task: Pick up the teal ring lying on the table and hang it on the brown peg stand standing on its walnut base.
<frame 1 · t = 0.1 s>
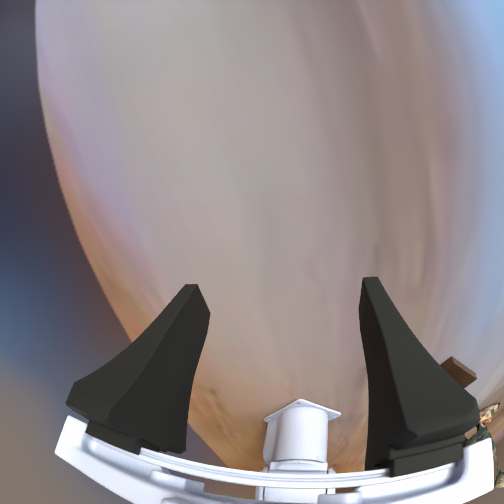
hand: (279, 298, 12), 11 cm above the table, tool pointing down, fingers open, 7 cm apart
brown peg stand: (440, 383, 29), on the table
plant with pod: (477, 414, 34), on the table
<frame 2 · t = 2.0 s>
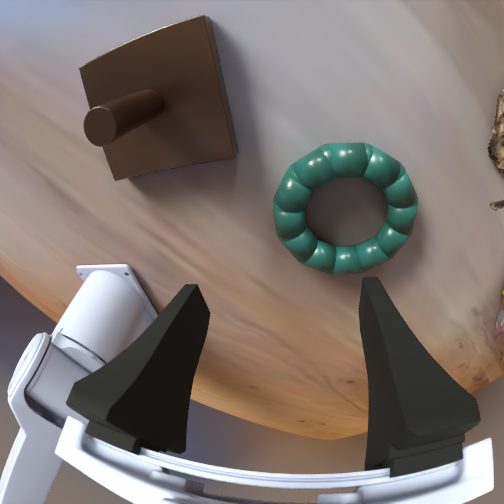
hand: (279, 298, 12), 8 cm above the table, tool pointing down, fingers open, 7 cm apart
brown peg stand: (156, 101, 15), on the table
ring: (347, 215, 17), point 1 cm above the table
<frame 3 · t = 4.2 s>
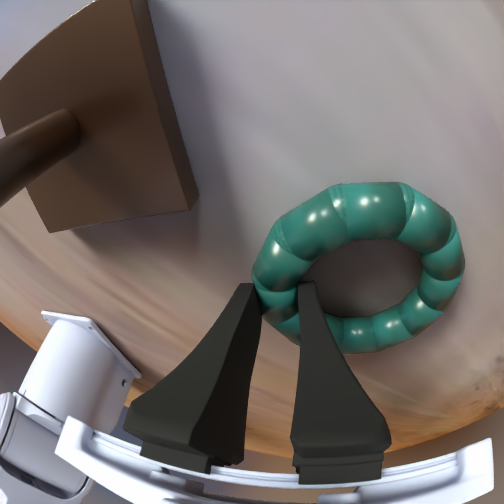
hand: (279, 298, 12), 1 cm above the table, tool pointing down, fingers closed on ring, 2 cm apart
brown peg stand: (81, 123, 9), on the table
ring: (364, 286, 11), point 1 cm above the table, touching gripper
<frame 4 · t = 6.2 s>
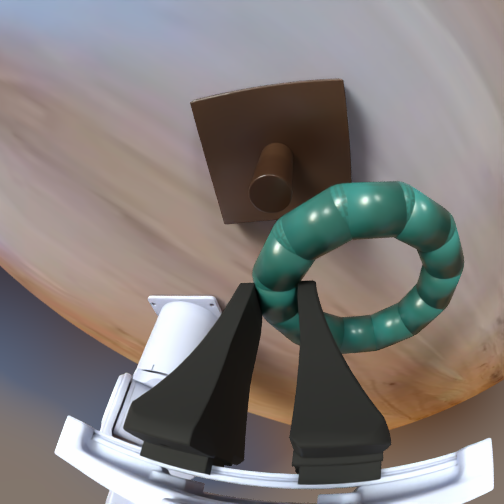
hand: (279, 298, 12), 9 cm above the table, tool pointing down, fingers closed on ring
brown peg stand: (278, 151, 17), on the table
ring: (364, 285, 11), point 9 cm above the table, touching gripper
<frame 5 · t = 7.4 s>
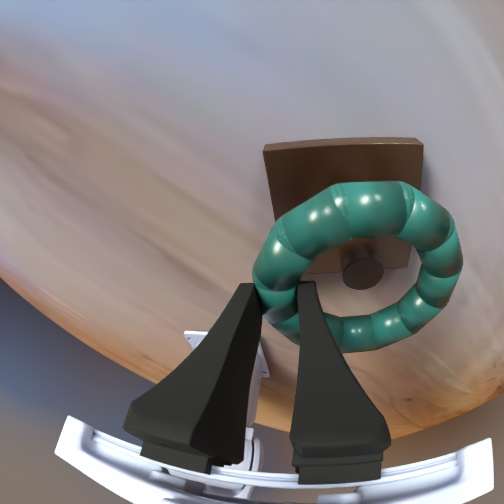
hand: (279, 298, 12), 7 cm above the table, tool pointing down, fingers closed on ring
brown peg stand: (346, 206, 17), on the table
ring: (363, 285, 11), point 7 cm above the table, touching gripper
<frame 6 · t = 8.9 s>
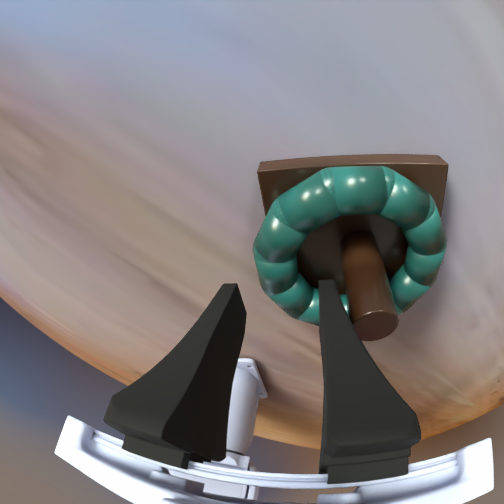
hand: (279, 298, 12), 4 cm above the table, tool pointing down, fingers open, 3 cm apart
brown peg stand: (355, 233, 14), on the table
ring: (354, 261, 13), point 2 cm above the table, touching brown peg stand
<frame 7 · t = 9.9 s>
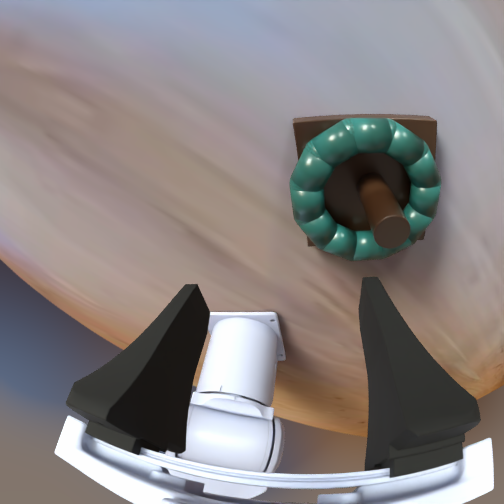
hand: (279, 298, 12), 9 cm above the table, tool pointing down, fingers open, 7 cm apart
brown peg stand: (367, 179, 17), on the table
ring: (369, 195, 15), point 2 cm above the table, touching brown peg stand
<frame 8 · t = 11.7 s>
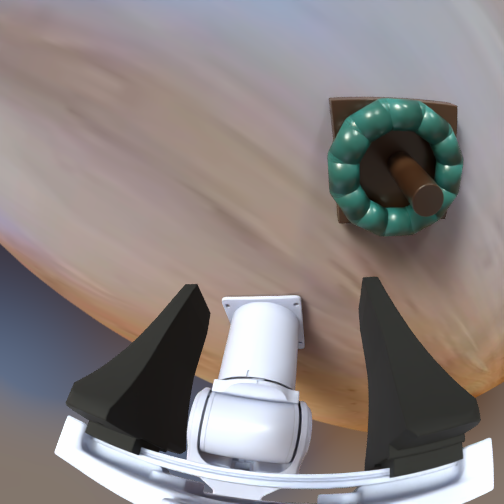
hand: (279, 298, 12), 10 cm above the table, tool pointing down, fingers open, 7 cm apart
brown peg stand: (395, 158, 17), on the table
ring: (400, 172, 15), point 2 cm above the table, touching brown peg stand
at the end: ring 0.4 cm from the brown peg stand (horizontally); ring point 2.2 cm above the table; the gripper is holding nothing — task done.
